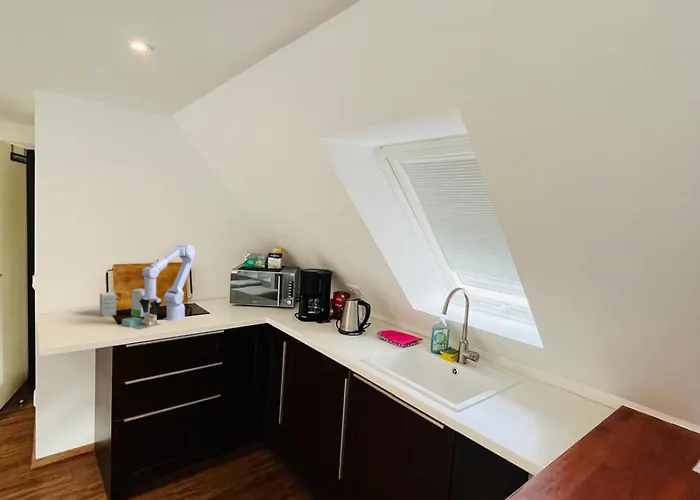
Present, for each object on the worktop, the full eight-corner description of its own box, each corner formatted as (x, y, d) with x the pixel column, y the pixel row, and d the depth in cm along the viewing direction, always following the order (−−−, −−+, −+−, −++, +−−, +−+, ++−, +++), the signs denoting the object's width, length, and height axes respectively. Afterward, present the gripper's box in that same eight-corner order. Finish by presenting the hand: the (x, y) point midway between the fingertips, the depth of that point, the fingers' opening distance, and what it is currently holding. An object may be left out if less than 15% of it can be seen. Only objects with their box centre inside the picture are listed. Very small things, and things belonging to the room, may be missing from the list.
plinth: (134, 322, 235) (134, 316, 234) (142, 324, 231) (142, 318, 231) (122, 324, 229) (122, 319, 228) (130, 327, 225) (130, 321, 225)
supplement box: (99, 314, 249) (99, 292, 248) (113, 312, 254) (113, 291, 253) (102, 316, 244) (101, 295, 242) (116, 315, 248) (116, 293, 247)
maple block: (151, 322, 235) (151, 313, 234) (156, 324, 233) (156, 315, 232) (144, 324, 231) (143, 315, 231) (149, 325, 229) (149, 316, 228)
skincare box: (130, 315, 248) (130, 289, 247) (140, 313, 254) (140, 287, 253) (141, 317, 245) (141, 291, 244) (150, 315, 251) (150, 289, 250)
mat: (142, 319, 241) (142, 319, 241) (160, 324, 233) (160, 324, 233) (120, 325, 229) (120, 324, 229) (139, 330, 222) (139, 329, 222)
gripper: (135, 288, 230) (135, 312, 231) (152, 291, 223) (152, 317, 224) (146, 286, 236) (146, 310, 237) (164, 289, 229) (163, 314, 230)
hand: (150, 313), depth 231 cm, fingers open, 7 cm apart
